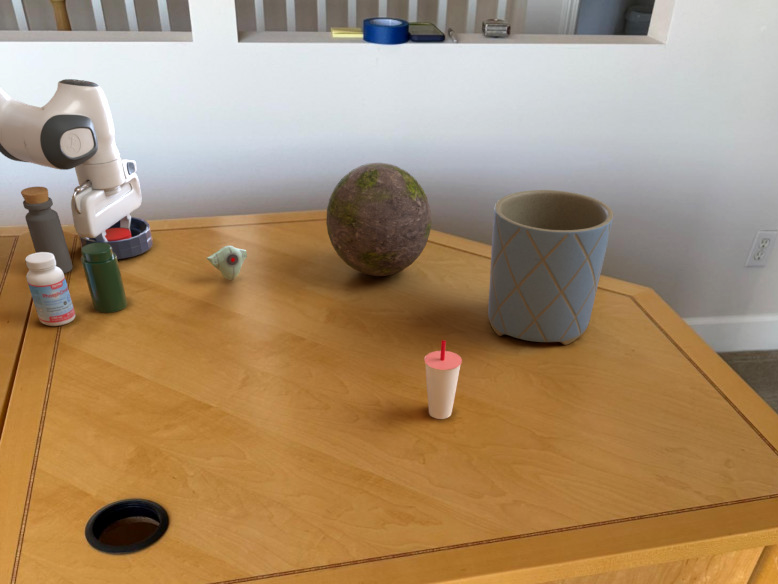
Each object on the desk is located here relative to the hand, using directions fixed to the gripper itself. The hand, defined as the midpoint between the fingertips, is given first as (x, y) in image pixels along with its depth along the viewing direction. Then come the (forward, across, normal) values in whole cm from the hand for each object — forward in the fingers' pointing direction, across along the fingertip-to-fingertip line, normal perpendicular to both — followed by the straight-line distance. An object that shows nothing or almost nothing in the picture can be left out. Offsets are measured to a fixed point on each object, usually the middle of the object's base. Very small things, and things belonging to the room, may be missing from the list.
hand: (116, 243), depth 160 cm
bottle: (+1, -13, +6) cm, 14 cm away
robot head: (+1, -8, -29) cm, 30 cm away
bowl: (+1, 0, 0) cm, 1 cm away
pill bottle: (+1, -32, -6) cm, 32 cm away
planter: (+1, -11, -89) cm, 89 cm away
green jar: (+1, -24, -12) cm, 27 cm away
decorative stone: (+1, +3, -56) cm, 56 cm away
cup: (+1, -43, -78) cm, 89 cm away
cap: (-2, 0, 0) cm, 2 cm away
